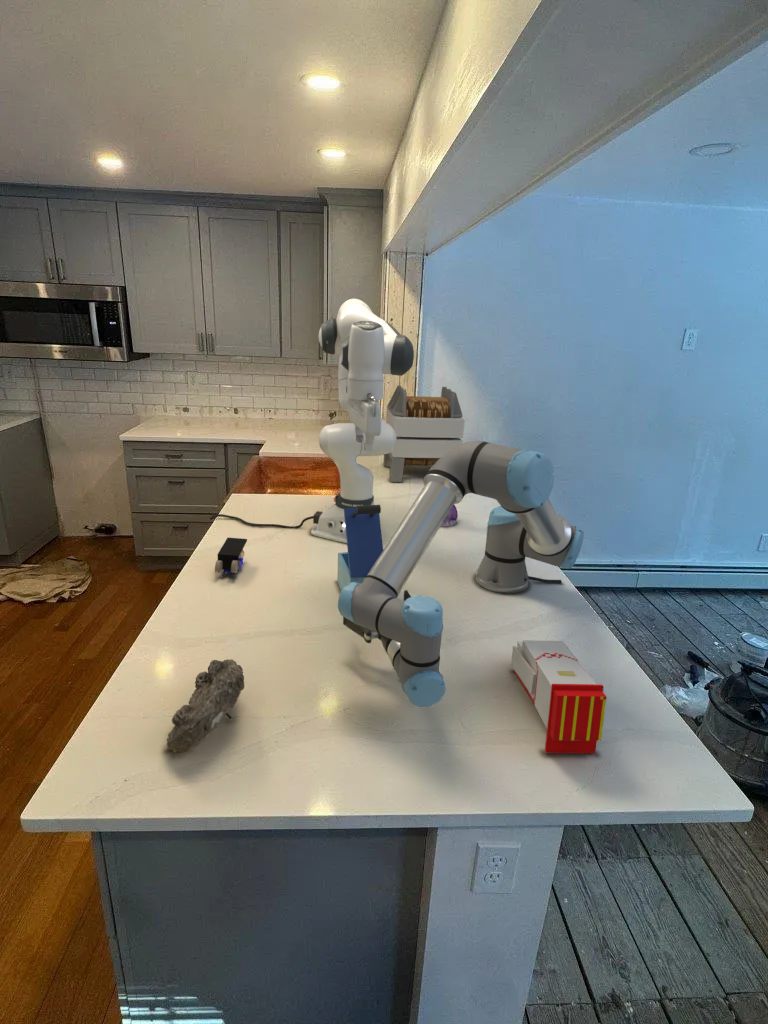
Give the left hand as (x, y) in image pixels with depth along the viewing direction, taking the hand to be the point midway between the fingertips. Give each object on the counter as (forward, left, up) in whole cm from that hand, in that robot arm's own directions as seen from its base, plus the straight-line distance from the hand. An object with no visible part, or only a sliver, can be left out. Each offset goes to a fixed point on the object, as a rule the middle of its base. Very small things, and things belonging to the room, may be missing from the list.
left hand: (363, 446), depth 144 cm
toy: (+51, -33, -42) cm, 74 cm away
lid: (+2, -4, -24) cm, 25 cm away
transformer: (-11, +126, -42) cm, 133 cm away
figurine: (+13, +63, -42) cm, 77 cm away
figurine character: (-40, 0, -42) cm, 57 cm away
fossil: (-10, -58, -42) cm, 72 cm away
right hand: (+10, -18, -32) cm, 38 cm away
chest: (0, -1, -42) cm, 42 cm away
